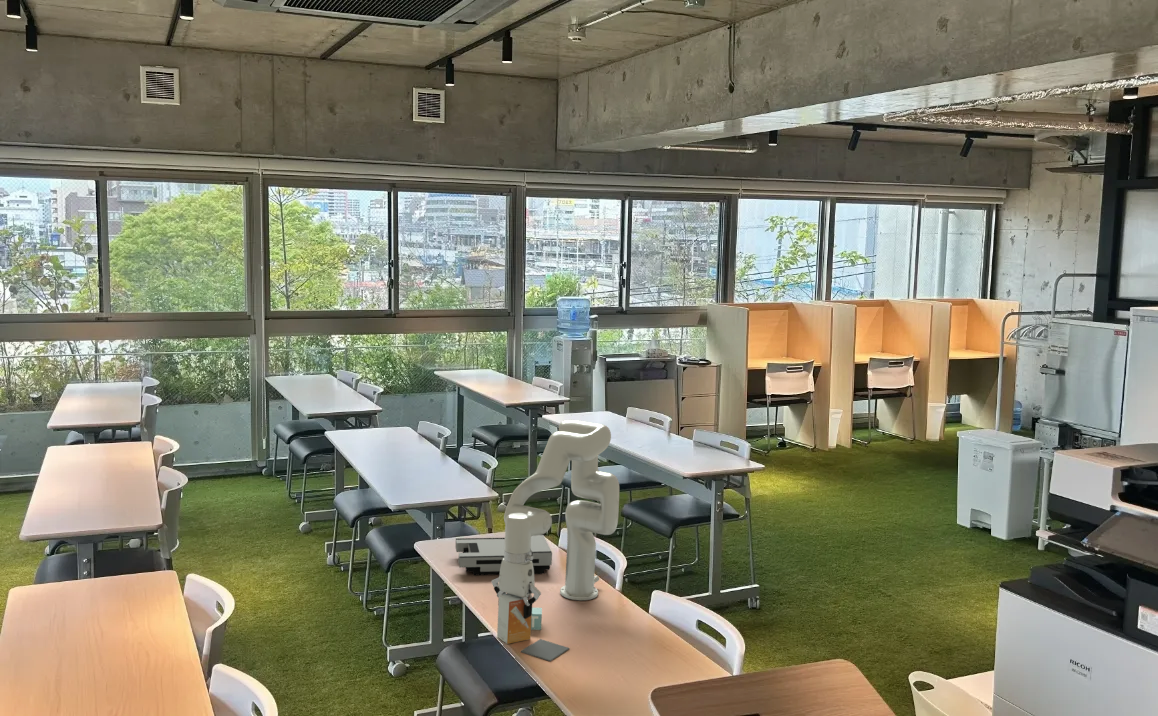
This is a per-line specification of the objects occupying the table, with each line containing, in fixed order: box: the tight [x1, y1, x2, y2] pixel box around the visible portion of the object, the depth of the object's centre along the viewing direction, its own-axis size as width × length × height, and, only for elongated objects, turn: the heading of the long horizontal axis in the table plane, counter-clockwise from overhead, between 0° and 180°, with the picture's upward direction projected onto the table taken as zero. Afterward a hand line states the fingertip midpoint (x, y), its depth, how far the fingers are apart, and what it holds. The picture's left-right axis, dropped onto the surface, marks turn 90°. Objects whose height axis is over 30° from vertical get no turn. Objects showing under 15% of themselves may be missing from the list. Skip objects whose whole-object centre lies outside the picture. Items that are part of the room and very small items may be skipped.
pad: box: [520, 638, 570, 662], centre depth 274 cm, size 10×10×1 cm
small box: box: [496, 593, 532, 645], centre depth 281 cm, size 8×6×13 cm
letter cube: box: [531, 607, 543, 631], centre depth 290 cm, size 5×5×5 cm
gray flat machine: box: [455, 534, 553, 576], centre depth 342 cm, size 21×32×8 cm, turn 101°
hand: (514, 613), depth 281 cm, fingers closed on small box, 8 cm apart
